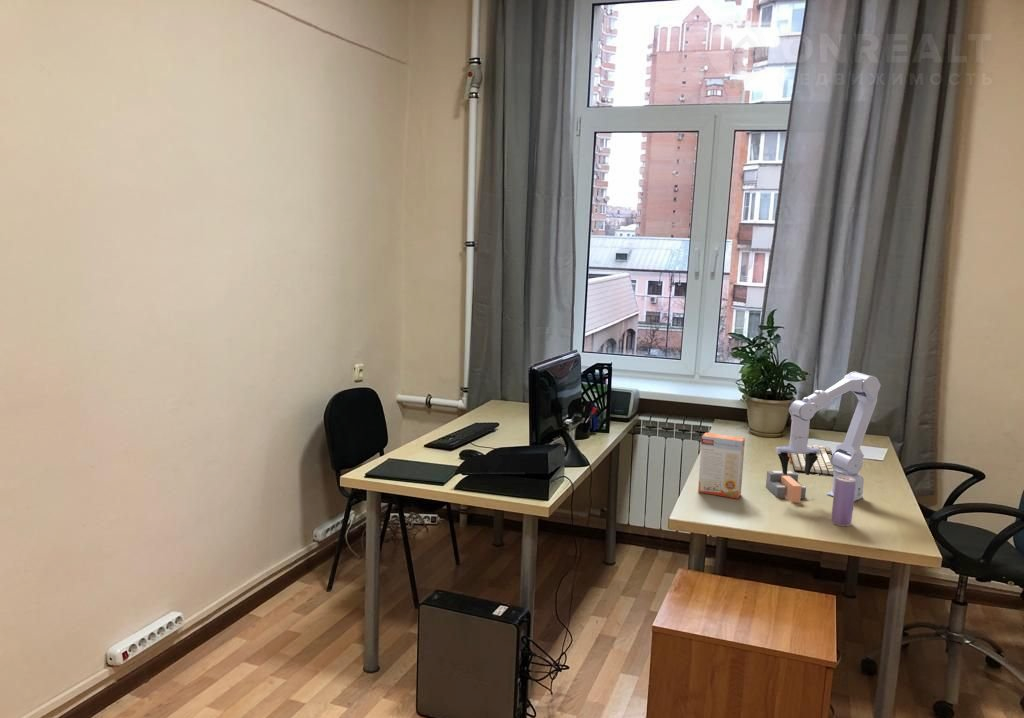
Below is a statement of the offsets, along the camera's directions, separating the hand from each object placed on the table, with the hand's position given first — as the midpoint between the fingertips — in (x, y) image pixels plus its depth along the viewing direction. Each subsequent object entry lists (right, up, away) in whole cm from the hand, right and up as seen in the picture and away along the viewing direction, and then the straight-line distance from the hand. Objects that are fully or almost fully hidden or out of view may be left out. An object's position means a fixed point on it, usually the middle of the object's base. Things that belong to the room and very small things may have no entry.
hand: (795, 473), depth 258 cm
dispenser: (0, -8, +9) cm, 12 cm away
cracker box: (-25, -8, +6) cm, 27 cm away
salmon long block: (0, -9, +5) cm, 10 cm away
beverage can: (+8, -13, -18) cm, 24 cm away
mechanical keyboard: (+25, -3, +48) cm, 54 cm away
